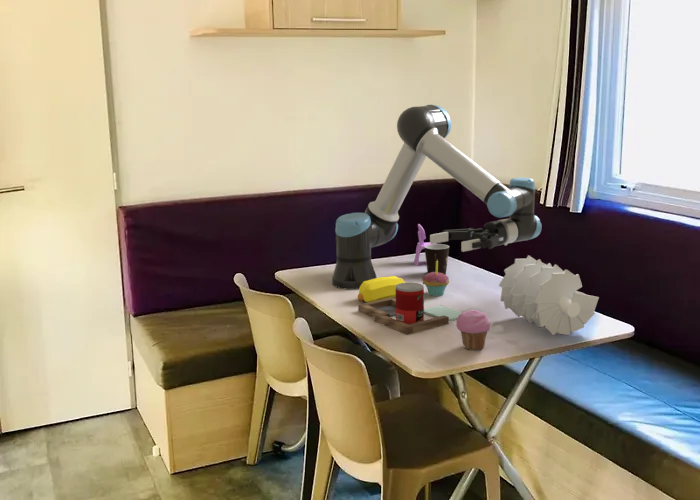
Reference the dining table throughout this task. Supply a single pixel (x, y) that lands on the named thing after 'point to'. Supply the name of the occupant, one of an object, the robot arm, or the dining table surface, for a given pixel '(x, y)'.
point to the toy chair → (420, 243)
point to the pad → (443, 312)
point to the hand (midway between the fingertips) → (446, 243)
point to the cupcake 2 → (473, 328)
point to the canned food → (409, 302)
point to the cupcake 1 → (435, 282)
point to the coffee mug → (436, 257)
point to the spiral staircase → (546, 296)
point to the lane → (387, 309)
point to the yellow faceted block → (379, 288)
